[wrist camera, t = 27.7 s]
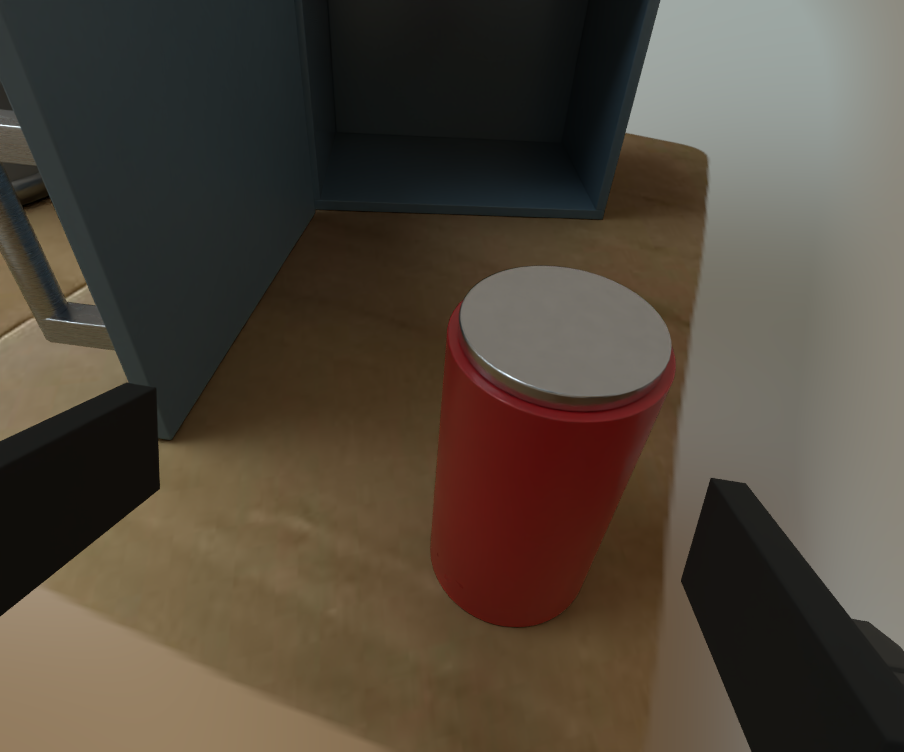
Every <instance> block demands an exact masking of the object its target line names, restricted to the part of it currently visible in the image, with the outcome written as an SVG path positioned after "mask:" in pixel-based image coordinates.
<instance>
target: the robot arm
mask: <svg viewBox="0 0 904 752" xmlns="http://www.w3.org/2000/svg"><path fill="white" fill-rule="evenodd" d="M0 109H2V110H11V111H13V109H12V107H11V104H10V102H9V99H8V97H7V95H6V92H5V90H4V88H3V85H2V83H1V81H0ZM2 164H3V166H4V168H5V170H6V172H7V174H8V177H9V179H10V181H11V183H12V185H13V187H14V189H15V192H16V194H17V196H18V198H19V200H20V202H21V205H24V204H27V203H31V202H33V201H36V200H39V199H41V198H44V197H46V196H49V194H48V191H47V189H46V187H45V184H44V182H43V179H42V177H41V175H40V172H39V170H38V168H37V166H30V165H22V164H13V163H5V162H2ZM159 489H160V479H159V449H158V419H157V389H156V387H150V386H144V385H138V384H132V383H125V384H123V385H120V386H118V387H116V388H114V389H112V390H110V391H107V392H105V393H103V394H101V395H99V396H97V397H95V398H92V399H90V400H88V401H86V402H84V403H82V404H80V405H77V406H75V407H73V408H71V409H69V410H67V411H64V412H62V413H60V414H58V415H56V416H54V417H52V418H49V419H47V420H45V421H43V422H41V423H39V424H36V425H34V426H32V427H30V428H28V429H26V430H24V431H21V432H19V433H17V434H15V435H13V436H11V437H9V438H6V439H4V440H2V441H0V616H1V615H3V614H4V613H5V612H6V611H7V610H9V609H10V608H11V607H13V606H14V605H15V604H16V603H18V602H19V601H20V600H21V599H23V598H24V597H25V596H26V595H28V594H29V593H30V592H31V591H33V590H34V589H35V588H36V587H38V586H39V585H40V584H41V583H43V582H44V581H45V580H46V579H48V578H49V577H50V576H51V575H53V574H54V573H55V572H56V571H58V570H59V569H60V568H61V567H63V566H64V565H65V564H66V563H68V562H69V561H70V560H71V559H73V558H74V557H75V556H76V555H78V554H79V553H80V552H81V551H83V550H84V549H85V548H86V547H88V546H89V545H90V544H91V543H93V542H94V541H95V540H96V539H98V538H99V537H100V536H101V535H103V534H104V533H105V532H106V531H108V530H109V529H110V528H111V527H113V526H114V525H115V524H116V523H118V522H119V521H120V520H121V519H123V518H124V517H125V516H126V515H128V514H129V513H130V512H131V511H133V510H134V509H135V508H136V507H138V506H139V505H140V504H141V503H143V502H144V501H145V500H146V499H148V498H149V497H150V496H151V495H153V494H154V493H155V492H156V491H158V490H159ZM681 582H682V584H683V587H684V589H685V592H686V594H687V597H688V599H689V601H690V604H691V606H692V608H693V611H694V614H695V616H696V618H697V621H698V623H699V626H700V628H701V631H702V633H703V635H704V638H705V640H706V643H707V645H708V648H709V650H710V652H711V655H712V657H713V660H714V662H715V664H716V667H717V669H718V672H719V674H720V676H721V679H722V681H723V684H724V686H725V689H726V691H727V693H728V696H729V698H730V700H731V703H732V706H733V708H734V710H735V713H736V715H737V718H738V720H739V723H740V725H741V727H742V730H743V732H744V735H745V737H746V739H747V742H748V744H749V747H750V749H751V752H904V651H903V650H902V648H901V647H900V646H899V645H897V644H896V643H895V642H894V641H892V640H891V639H890V638H888V637H887V636H886V635H885V634H883V633H882V632H881V631H880V630H878V629H877V628H875V627H874V626H873V625H872V624H871V623H869V622H867V621H861V620H855V619H851V618H850V616H849V615H848V614H847V613H846V611H845V610H844V609H843V607H842V606H841V605H840V604H839V602H838V601H837V600H836V598H835V597H834V596H833V595H832V593H831V592H830V591H829V589H828V588H827V587H826V586H825V584H824V583H823V582H822V580H821V579H820V578H819V577H818V575H817V574H816V573H815V572H814V570H813V569H812V568H811V566H810V565H809V564H808V563H807V561H806V560H805V559H804V558H803V556H802V555H801V554H800V552H799V551H798V550H797V548H796V547H795V546H794V545H793V543H792V542H791V541H790V540H789V538H788V537H787V536H786V534H785V533H784V532H783V531H782V529H781V528H780V527H779V526H778V524H777V523H776V522H775V520H774V519H773V518H772V516H771V515H770V514H769V513H768V511H767V510H766V509H765V508H764V506H763V505H762V504H761V502H760V501H759V500H758V499H757V497H756V496H755V495H754V493H753V492H752V491H751V490H750V488H749V487H748V486H747V485H746V483H740V482H734V481H727V480H721V479H715V478H711V479H710V482H709V486H708V489H707V493H706V496H705V499H704V503H703V506H702V510H701V513H700V517H699V520H698V524H697V527H696V531H695V534H694V537H693V541H692V544H691V548H690V551H689V554H688V558H687V561H686V565H685V568H684V572H683V575H682V579H681Z"/></svg>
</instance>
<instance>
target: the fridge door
mask: <svg viewBox="0 0 904 752" xmlns="http://www.w3.org/2000/svg"><path fill="white" fill-rule="evenodd" d="M0 81H1V83H2V85H3V88H4V90H5V92H6V95H7V97H8V99H9V102H10V104H11V107H12V109H13V111H11V110H2V109H0V252H1V254H2V256H3V258H4V260H5V261H6V263H7V265H8V267H9V269H10V271H11V273H12V275H13V277H14V279H15V281H16V283H17V284H18V286H19V288H20V290H21V292H22V294H23V296H24V298H25V300H26V302H27V304H28V306H29V307H30V309H31V311H32V313H33V315H34V317H35V319H36V321H37V323H38V325H39V327H40V329H41V330H42V332H43V334H44V336H45V338H46V339H47V340H48V341H50V342H55V343H62V344H70V345H77V346H85V347H93V348H100V349H108V350H115V351H116V353H117V356H118V358H119V361H120V363H121V365H122V368H123V370H124V372H125V375H126V377H127V379H128V382H129V383H132V384H138V385H144V386H150V387H156V389H157V419H158V438H160V439H167V440H171V439H172V438H173V437H174V435H175V434H176V432H177V430H178V429H179V427H180V426H181V424H182V423H183V421H184V419H185V418H186V416H187V415H188V413H189V411H190V410H191V408H192V407H193V405H194V404H195V402H196V400H197V399H198V397H199V396H200V394H201V393H202V391H203V389H204V388H205V386H206V385H207V383H208V381H209V380H210V378H211V377H212V375H213V374H214V372H215V370H216V369H217V367H218V366H219V364H220V362H221V361H222V359H223V358H224V356H225V355H226V353H227V351H228V350H229V348H230V347H231V345H232V343H233V342H234V340H235V339H236V337H237V336H238V334H239V332H240V331H241V329H242V328H243V326H244V325H245V323H246V321H247V320H248V318H249V317H250V315H251V313H252V312H253V310H254V309H255V307H256V306H257V304H258V302H259V301H260V299H261V298H262V296H263V294H264V293H265V291H266V290H267V288H268V287H269V285H270V283H271V282H272V280H273V279H274V277H275V275H276V274H277V272H278V271H279V269H280V268H281V266H282V264H283V263H284V261H285V260H286V258H287V257H288V255H289V253H290V252H291V250H292V249H293V247H294V245H295V244H296V242H297V241H298V239H299V238H300V236H301V234H302V233H303V231H304V230H305V228H306V226H307V225H308V223H309V222H310V220H311V219H312V217H313V215H314V214H315V205H314V195H313V185H312V175H311V165H310V155H309V145H308V135H307V125H306V115H305V105H304V95H303V85H302V75H301V65H300V55H299V45H298V35H297V25H296V15H295V5H294V0H0ZM2 162H5V163H13V164H22V165H30V166H37V168H38V170H39V172H40V175H41V177H42V179H43V182H44V184H45V187H46V189H47V191H48V194H49V196H50V198H51V201H52V203H53V205H54V208H55V210H56V212H57V215H58V217H59V219H60V222H61V224H62V226H63V229H64V231H65V234H66V236H67V238H68V241H69V243H70V245H71V248H72V250H73V252H74V255H75V257H76V259H77V262H78V264H79V266H80V269H81V271H82V274H83V276H84V278H85V281H86V283H87V285H88V288H89V290H90V292H91V295H92V297H93V299H94V302H95V304H96V306H95V305H87V304H79V303H71V302H67V301H66V299H65V297H64V295H63V293H62V291H61V288H60V286H59V284H58V282H57V280H56V278H55V276H54V273H53V271H52V269H51V267H50V265H49V263H48V260H47V258H46V256H45V254H44V252H43V250H42V248H41V245H40V243H39V241H38V239H37V237H36V235H35V232H34V230H33V228H32V226H31V224H30V222H29V220H28V217H27V215H26V213H25V211H24V209H23V207H22V205H21V202H20V200H19V198H18V196H17V194H16V192H15V189H14V187H13V185H12V183H11V181H10V179H9V177H8V174H7V172H6V170H5V168H4V166H3V164H2Z"/></svg>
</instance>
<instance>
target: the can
mask: <svg viewBox="0 0 904 752" xmlns="http://www.w3.org/2000/svg"><path fill="white" fill-rule="evenodd" d="M675 371H676V360H675V355H674V351H673V348H672V346H671V338H670V334H669V331H668V329H667V326H666V324H665V322H664V321H663V319H662V318H661V316H660V315H659V314H658V313H657V311H656V310H655V309H654V308H653V307H652V306H651V305H650V304H649V303H648V302H647V301H645V300H644V299H643V298H642V297H640V296H639V295H638V294H636V293H635V292H633V291H631V290H630V289H628V288H626V287H625V286H623V285H621V284H619V283H617V282H615V281H612V280H610V279H608V278H605V277H602V276H599V275H596V274H593V273H590V272H586V271H582V270H577V269H573V268H566V267H559V266H525V267H518V268H512V269H508V270H504V271H501V272H498V273H495V274H493V275H491V276H489V277H487V278H485V279H483V280H482V281H480V282H479V283H477V284H476V285H475V286H474V287H473V288H472V289H471V290H470V291H469V292H468V293H467V295H466V296H465V298H464V299H463V300H462V301H461V302H460V303H459V304H458V306H457V307H456V308H455V310H454V311H453V313H452V315H451V317H450V319H449V323H448V327H447V338H446V351H445V364H444V377H443V389H442V402H441V415H440V428H439V441H438V454H437V466H436V479H435V492H434V505H433V518H432V531H431V545H430V553H431V561H432V565H433V569H434V572H435V574H436V577H437V579H438V581H439V583H440V584H441V586H442V588H443V589H444V591H445V592H446V593H447V594H448V596H449V597H450V598H451V599H452V600H453V601H454V602H455V603H456V604H457V605H458V606H460V607H461V608H462V609H463V610H465V611H466V612H468V613H469V614H471V615H473V616H474V617H476V618H479V619H481V620H483V621H485V622H489V623H492V624H495V625H500V626H506V627H526V626H532V625H537V624H541V623H543V622H546V621H548V620H551V619H552V618H554V617H556V616H558V615H559V614H560V613H562V612H563V611H564V610H565V609H567V608H568V607H569V605H570V604H571V603H572V602H573V601H574V599H575V598H576V596H577V595H578V593H579V591H580V589H581V587H582V584H583V582H584V580H585V578H586V575H587V573H588V571H589V569H590V566H591V564H592V562H593V560H594V557H595V555H596V553H597V551H598V548H599V546H600V544H601V542H602V539H603V537H604V535H605V533H606V530H607V528H608V526H609V524H610V521H611V519H612V517H613V515H614V512H615V510H616V508H617V506H618V504H619V501H620V499H621V497H622V495H623V492H624V490H625V488H626V486H627V483H628V481H629V479H630V477H631V474H632V472H633V470H634V468H635V465H636V463H637V461H638V459H639V456H640V454H641V452H642V450H643V447H644V445H645V443H646V441H647V438H648V436H649V434H650V432H651V429H652V427H653V425H654V423H655V420H656V418H657V416H658V414H659V411H660V409H661V407H662V405H663V402H664V400H665V398H666V396H667V393H668V391H669V389H670V387H671V384H672V382H673V380H674V376H675Z"/></svg>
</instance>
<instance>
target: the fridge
mask: <svg viewBox="0 0 904 752" xmlns="http://www.w3.org/2000/svg"><path fill="white" fill-rule="evenodd" d="M659 3H660V0H294V5H295V15H296V25H297V35H298V45H299V55H300V65H301V75H302V85H303V95H304V105H305V115H306V125H307V135H308V145H309V155H310V165H311V175H312V185H313V195H314V205H315V209H320V210H349V211H377V212H406V213H434V214H463V215H491V216H520V217H548V218H577V219H603V216H604V212H605V208H606V204H607V200H608V196H609V193H610V189H611V185H612V181H613V177H614V174H615V170H616V166H617V162H618V159H619V155H620V151H621V147H622V143H623V140H624V136H625V132H626V128H627V124H628V120H629V117H630V113H631V109H632V106H633V101H634V98H635V94H636V90H637V86H638V82H639V78H640V75H641V71H642V68H643V64H644V60H645V56H646V52H647V49H648V45H649V41H650V37H651V33H652V30H653V26H654V22H655V18H656V15H657V10H658V7H659Z"/></svg>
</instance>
